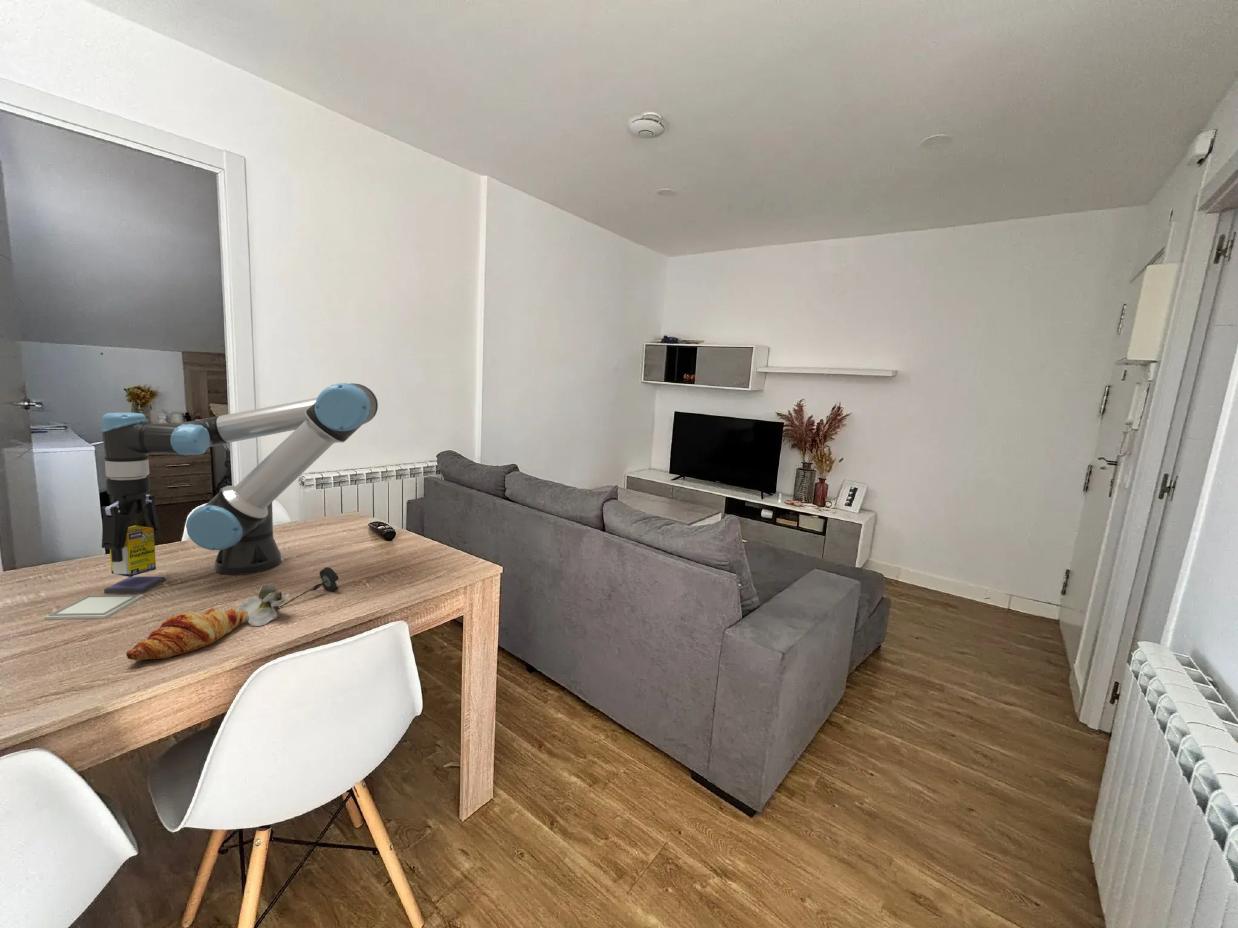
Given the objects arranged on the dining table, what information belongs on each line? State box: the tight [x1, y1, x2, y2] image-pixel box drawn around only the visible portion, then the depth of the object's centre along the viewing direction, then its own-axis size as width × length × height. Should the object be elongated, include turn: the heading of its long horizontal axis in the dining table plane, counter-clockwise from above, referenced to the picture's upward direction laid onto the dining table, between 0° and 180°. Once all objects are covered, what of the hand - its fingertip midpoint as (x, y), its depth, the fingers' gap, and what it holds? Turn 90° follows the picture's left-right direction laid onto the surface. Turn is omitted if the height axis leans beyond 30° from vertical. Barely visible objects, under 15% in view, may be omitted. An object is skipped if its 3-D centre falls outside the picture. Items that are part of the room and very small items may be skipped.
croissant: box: [125, 608, 249, 661], centre depth 101 cm, size 21×10×8 cm, turn 161°
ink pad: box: [103, 576, 167, 594], centre depth 124 cm, size 8×8×1 cm
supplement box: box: [109, 524, 157, 578], centre depth 123 cm, size 6×6×11 cm
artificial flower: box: [236, 566, 340, 627], centre depth 119 cm, size 9×22×10 cm, turn 157°
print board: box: [44, 594, 144, 620], centre depth 113 cm, size 11×11×1 cm
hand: (134, 567), depth 124 cm, fingers closed on supplement box, 8 cm apart
